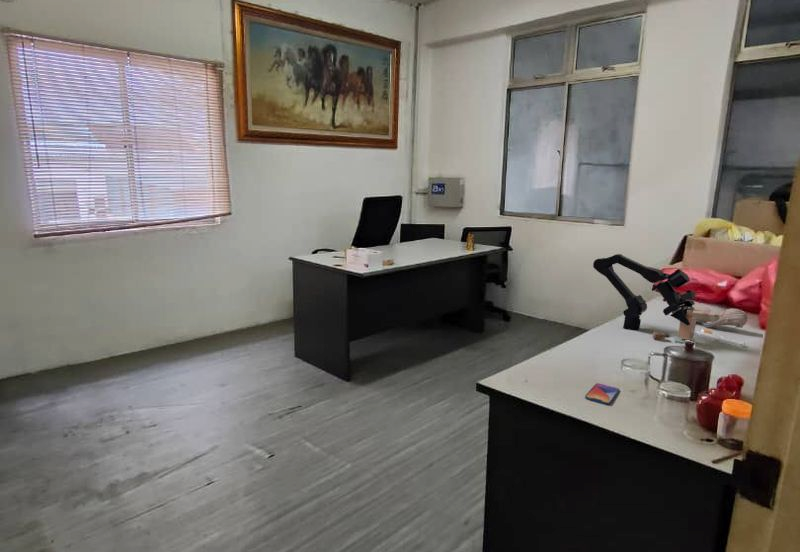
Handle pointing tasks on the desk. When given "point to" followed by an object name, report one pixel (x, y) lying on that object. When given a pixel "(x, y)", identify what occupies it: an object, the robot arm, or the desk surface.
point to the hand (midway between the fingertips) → (691, 324)
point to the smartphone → (602, 394)
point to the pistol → (717, 338)
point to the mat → (682, 340)
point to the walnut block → (659, 336)
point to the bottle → (688, 330)
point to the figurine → (720, 317)
